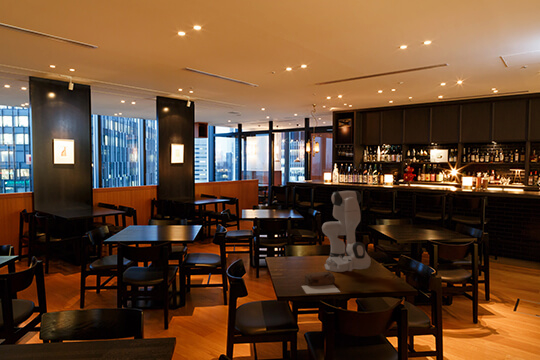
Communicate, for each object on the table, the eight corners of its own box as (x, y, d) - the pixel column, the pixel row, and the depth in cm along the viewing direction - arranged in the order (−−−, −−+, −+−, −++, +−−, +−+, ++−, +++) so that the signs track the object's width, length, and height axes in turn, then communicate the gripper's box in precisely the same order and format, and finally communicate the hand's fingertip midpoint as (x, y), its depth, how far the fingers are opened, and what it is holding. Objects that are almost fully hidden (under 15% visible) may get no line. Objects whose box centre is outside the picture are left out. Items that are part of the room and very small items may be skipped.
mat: (301, 286, 240) (301, 285, 240) (333, 284, 243) (333, 284, 243) (306, 293, 225) (306, 293, 225) (340, 292, 229) (340, 291, 229)
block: (328, 280, 252) (303, 283, 247) (328, 270, 252) (303, 272, 247) (335, 285, 242) (309, 288, 236) (335, 274, 242) (309, 277, 236)
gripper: (341, 254, 246) (323, 255, 244) (352, 262, 226) (332, 263, 224) (341, 263, 246) (322, 263, 245) (352, 271, 226) (332, 272, 224)
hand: (327, 263), depth 234 cm, fingers closed
